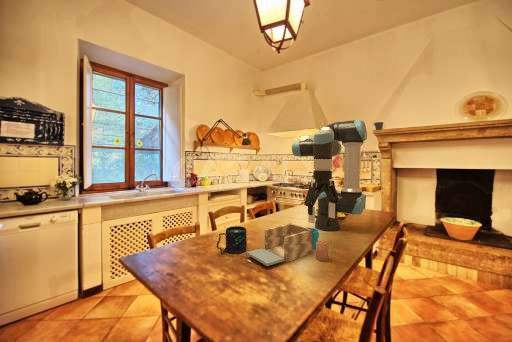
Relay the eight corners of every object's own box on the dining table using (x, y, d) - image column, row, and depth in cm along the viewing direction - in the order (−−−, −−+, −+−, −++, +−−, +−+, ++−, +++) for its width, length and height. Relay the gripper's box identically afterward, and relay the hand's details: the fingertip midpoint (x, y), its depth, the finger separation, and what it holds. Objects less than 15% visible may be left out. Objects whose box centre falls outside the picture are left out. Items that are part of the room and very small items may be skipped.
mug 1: (241, 244, 116) (241, 225, 116) (250, 251, 107) (250, 230, 107) (212, 250, 109) (211, 229, 109) (218, 258, 100) (218, 235, 100)
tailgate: (264, 247, 106) (246, 252, 100) (285, 258, 95) (267, 263, 89) (264, 250, 106) (246, 254, 100) (285, 260, 95) (267, 266, 89)
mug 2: (311, 251, 107) (311, 233, 107) (297, 246, 113) (297, 230, 113) (325, 244, 115) (325, 228, 115) (311, 240, 121) (311, 225, 121)
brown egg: (320, 255, 102) (320, 240, 102) (330, 259, 98) (330, 243, 98) (313, 258, 99) (313, 242, 99) (323, 262, 95) (323, 246, 95)
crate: (290, 243, 117) (290, 223, 116) (312, 252, 106) (312, 230, 105) (264, 251, 106) (264, 229, 106) (286, 262, 95) (286, 237, 95)
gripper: (332, 168, 107) (332, 214, 108) (295, 170, 92) (295, 222, 93) (347, 169, 101) (346, 217, 102) (310, 171, 86) (309, 227, 87)
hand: (322, 220), depth 97 cm, fingers open, 13 cm apart
